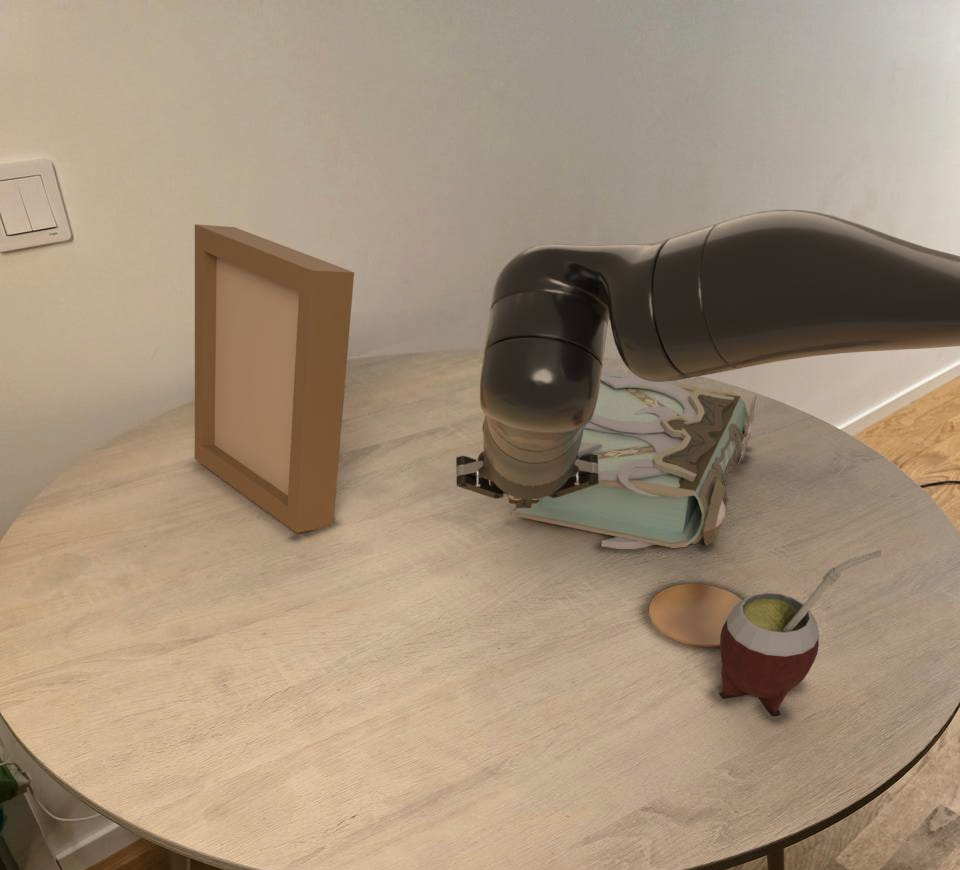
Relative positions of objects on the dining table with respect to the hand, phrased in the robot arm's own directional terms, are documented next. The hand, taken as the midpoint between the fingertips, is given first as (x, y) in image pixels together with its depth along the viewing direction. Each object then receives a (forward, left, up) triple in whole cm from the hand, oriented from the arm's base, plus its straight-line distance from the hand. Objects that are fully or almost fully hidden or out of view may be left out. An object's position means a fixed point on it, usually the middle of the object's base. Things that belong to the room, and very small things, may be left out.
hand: (523, 498), depth 86 cm
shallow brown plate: (-15, +14, -5) cm, 21 cm away
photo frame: (+24, -14, -5) cm, 28 cm away
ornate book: (-13, -11, -5) cm, 17 cm away
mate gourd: (-18, +24, -5) cm, 30 cm away
